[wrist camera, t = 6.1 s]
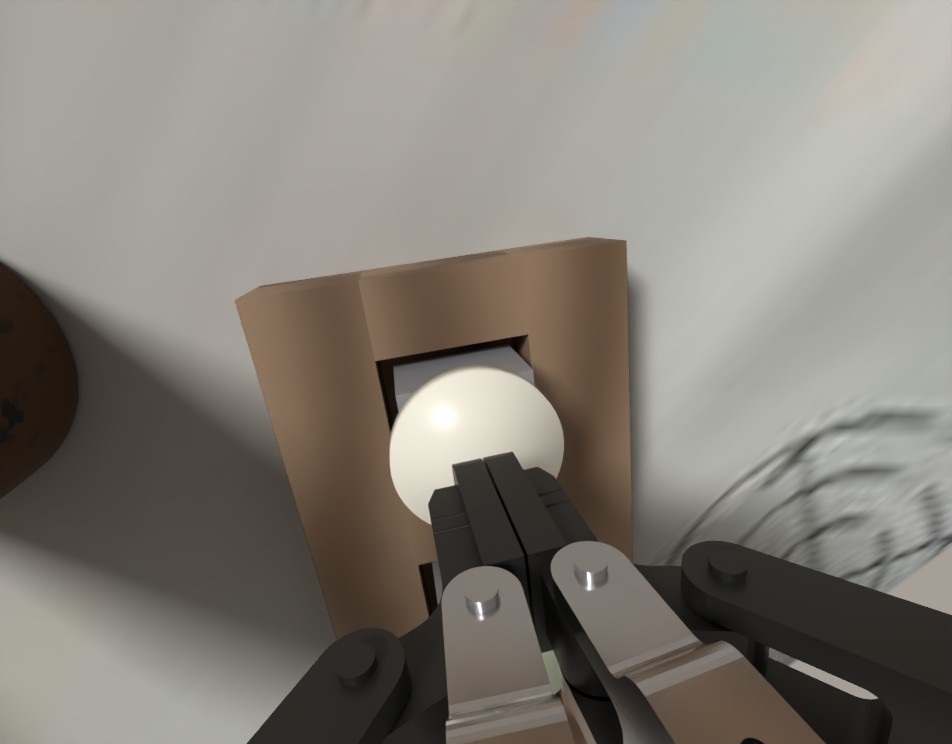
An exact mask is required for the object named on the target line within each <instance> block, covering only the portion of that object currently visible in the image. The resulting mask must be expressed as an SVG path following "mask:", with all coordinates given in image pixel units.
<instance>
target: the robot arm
mask: <svg viewBox="0 0 952 744" xmlns="http://www.w3.org/2000/svg"><path fill="white" fill-rule="evenodd" d="M452 472H453V478H454V484H455V485H453V486H449V487H444V488H440V489H435V490H434V492H433V494H432V496H431V499H430V501H429V503H428V508H429V513H430V519H431V524H432V530H433V535H434V541H435V547H436V552H437V558H438V563H439V569H440V575H441V580H442V588H443V590H442V596H441V599H440V602H439V604H438V606H437V608H436V609H435V611H434V612H433V613H432V615H431V616H430V617H429V618H428V619H427V620H426V621H424V622H423V623H422V624H421V625H419V626H418V627H416V628H415V629H413V630H411V631H410V632H408V633H406V634H404V635H403V636H401V637H399V638H397V637H396V636H395V635H394V634H393V633H391V632H389V631H387V630H384V629H380V628H365V629H360V630H357V631H354V632H351V633H349V634H347V635H345V636H343V637H341V638H340V639H338V640H337V641H335V642H334V643H333V644H332V645H331V646H329V647H328V648H327V649H326V650H325V652H324V653H323V654H322V655H321V656H320V657H319V658H318V660H317V661H316V662H315V663H314V664H313V666H312V667H311V668H310V669H309V670H308V672H307V673H306V674H305V675H304V676H303V677H302V679H301V680H300V681H299V682H298V683H297V685H296V686H295V687H294V688H293V689H292V691H291V692H290V693H289V694H288V695H287V696H286V698H285V699H284V700H283V701H282V702H281V704H280V705H279V706H278V707H277V708H276V710H275V711H274V712H273V713H272V714H271V715H270V717H269V718H268V719H267V720H266V721H265V723H264V724H263V725H262V726H261V727H260V729H259V730H258V731H257V732H256V733H255V734H254V736H253V737H252V738H251V739H250V740H249V742H248V743H247V744H575V743H574V739H573V736H572V733H571V729H570V726H569V723H568V719H567V716H566V713H565V710H564V707H563V705H562V702H561V700H560V698H559V696H558V695H556V696H554V693H553V691H552V688H551V684H550V681H549V678H548V674H547V671H546V667H545V664H544V660H543V657H542V653H544V652H548V651H551V650H553V652H554V654H555V656H556V659H557V661H558V664H559V668H560V680H561V687H562V690H563V693H564V695H565V697H566V699H567V702H568V704H569V706H570V708H571V710H572V712H573V714H574V716H575V718H576V720H577V722H578V725H579V727H580V729H581V731H582V733H583V735H584V737H585V739H586V741H587V743H588V744H952V615H949V614H946V613H943V612H940V611H937V610H934V609H931V608H928V607H925V606H922V605H918V604H916V603H913V602H910V601H907V600H904V599H901V598H897V597H894V596H891V595H888V594H886V593H882V592H879V591H876V590H873V589H870V588H867V587H864V586H861V585H858V584H855V583H852V582H849V581H846V580H843V579H840V578H837V577H834V576H831V575H828V574H825V573H822V572H819V571H816V570H813V569H810V568H807V567H803V566H800V565H797V564H794V563H791V562H788V561H785V560H782V559H779V558H776V557H773V556H770V555H767V554H764V553H761V552H758V551H755V550H752V549H749V548H746V547H743V546H740V545H736V544H733V543H728V542H723V541H706V542H701V543H698V544H695V545H693V546H691V547H690V548H688V549H687V550H686V551H685V553H684V554H683V557H682V566H643V565H637V564H632V563H631V562H630V561H629V559H628V558H627V557H626V556H625V555H624V554H623V553H622V552H620V551H619V550H618V549H616V548H614V547H612V546H610V545H607V544H605V543H601V542H599V541H598V540H597V538H596V537H595V535H594V534H593V532H592V531H591V529H590V528H589V526H588V525H587V524H586V522H585V521H584V519H583V518H582V516H581V515H580V513H579V512H578V510H577V509H576V508H575V506H574V505H573V503H571V502H570V499H569V497H568V496H567V494H566V493H565V492H563V489H562V487H561V486H560V484H559V483H558V481H557V480H556V478H555V477H554V476H553V475H551V474H550V473H548V472H546V471H545V470H543V469H541V468H539V467H534V468H530V469H525V470H523V468H522V466H521V465H520V463H519V461H518V459H517V458H516V456H515V454H514V453H513V452H512V451H511V452H507V453H502V454H497V455H493V456H488V457H483V460H482V459H481V458H479V459H474V460H470V461H465V462H461V463H456V464H452ZM769 647H770V648H773V649H775V650H777V651H779V652H782V653H784V654H786V655H789V656H791V657H793V658H795V659H798V660H800V661H802V662H805V663H807V664H809V665H812V666H814V667H816V668H818V669H821V670H823V671H825V672H827V673H830V674H832V675H834V676H837V677H839V678H841V679H843V680H846V681H848V682H850V683H853V684H855V685H857V686H859V687H862V688H864V689H866V690H868V691H870V692H871V693H873V694H874V695H875V696H877V697H878V699H872V700H870V699H862V698H859V697H856V696H853V695H851V694H849V693H846V692H844V691H842V690H840V689H837V688H835V687H833V686H831V685H828V684H826V683H824V682H822V681H820V680H818V679H815V678H813V677H811V676H809V675H806V674H804V673H802V672H800V671H798V670H795V669H793V668H791V667H789V666H787V665H784V664H782V663H780V662H778V661H775V660H773V659H771V658H769V657H768V656H769Z"/></svg>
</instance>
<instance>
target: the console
mask: <svg viewBox="0 0 952 744" xmlns="http://www.w3.org/2000/svg"><path fill="white" fill-rule="evenodd" d="M235 303H236V306H237V310H238V313H239V316H240V320H241V323H242V326H243V330H244V333H245V336H246V340H247V343H248V346H249V350H250V353H251V356H252V360H253V363H254V366H255V370H256V373H257V376H258V379H259V383H260V386H261V389H262V393H263V396H264V399H265V403H266V406H267V409H268V413H269V416H270V419H271V423H272V426H273V429H274V433H275V436H276V439H277V443H278V446H279V449H280V452H281V456H282V459H283V462H284V466H285V469H286V472H287V476H288V479H289V482H290V486H291V489H292V492H293V496H294V499H295V502H296V506H297V509H298V512H299V516H300V519H301V522H302V525H303V529H304V532H305V535H306V539H307V542H308V545H309V549H310V552H311V555H312V559H313V562H314V565H315V569H316V572H317V575H318V579H319V582H320V585H321V589H322V592H323V595H324V598H325V602H326V605H327V608H328V612H329V615H330V618H331V622H332V625H333V628H334V632H335V635H336V638H337V640H338V639H340V638H341V637H343V636H345V635H347V634H349V633H351V632H354V631H357V630H360V629H365V628H380V629H384V630H387V631H389V632H391V633H393V634H394V635H395V636H396V637H397V638H399V637H401V636H403V635H404V634H406V633H408V632H410V631H411V630H413V629H415V628H416V627H418V626H419V625H421V624H422V623H423V622H424V621H426V620H427V619H428V618H429V617H430V616H431V615H432V613H433V612H434V611H435V609H436V608H437V606H438V603H437V595H436V588H435V581H434V574H433V567H432V562H434V561H438V558H437V552H436V547H435V541H434V535H433V530H432V525H431V524H429V523H427V522H425V521H424V520H422V519H420V518H419V517H418V516H416V515H415V514H414V513H413V512H412V511H411V510H410V509H409V508H408V507H407V506H406V505H405V504H404V502H403V501H402V499H401V498H400V496H399V495H398V493H397V491H396V489H395V486H394V483H393V480H392V477H391V470H390V453H389V450H390V436H391V430H392V427H393V424H394V421H395V419H396V416H397V414H398V412H399V411H398V406H397V401H396V396H395V383H394V368H393V364H397V363H403V362H408V361H414V360H420V359H425V358H431V357H436V356H442V355H448V354H453V353H459V352H465V351H470V350H476V349H482V348H487V347H493V346H498V345H504V344H508V345H509V346H510V347H511V348H512V349H513V350H514V351H515V352H516V353H517V354H518V355H519V356H520V357H521V358H522V359H523V360H524V361H525V362H526V363H527V364H528V365H529V366H530V367H531V368H532V369H533V374H534V384H535V387H536V388H537V389H538V390H539V391H540V392H541V393H542V395H543V396H544V397H545V398H546V399H547V400H548V401H549V402H550V404H551V405H552V407H553V408H554V410H555V411H556V413H557V416H558V418H559V420H560V423H561V426H562V430H563V437H564V453H563V460H562V464H561V468H560V471H559V473H558V476H557V478H556V480H557V481H558V483H559V484H560V486H561V487H562V489H563V492H565V493H566V494H567V496H568V497H569V499H570V502H571V503H573V505H574V506H575V508H576V509H577V510H578V512H579V513H580V515H581V516H582V518H583V519H584V521H585V522H586V524H587V525H588V526H589V528H590V529H591V531H592V532H593V534H594V535H595V537H596V538H597V540H598V541H599V542H601V543H605V544H607V545H610V546H612V547H614V548H616V549H618V550H619V551H620V552H622V553H623V554H624V555H625V556H626V557H627V558H628V559H629V561H630V562H631V563H632V564H633V550H632V500H631V450H630V400H629V350H628V300H627V250H626V241H625V240H614V239H603V238H592V237H586V238H579V239H572V240H566V241H559V242H552V243H546V244H539V245H532V246H525V247H519V248H512V249H505V250H499V251H492V252H485V253H479V254H472V255H465V256H459V257H452V258H445V259H439V260H432V261H425V262H418V263H412V264H405V265H398V266H392V267H385V268H378V269H372V270H365V271H358V272H352V273H345V274H338V275H332V276H325V277H318V278H311V279H305V280H298V281H291V282H285V283H278V284H271V285H265V286H260V287H258V288H256V289H254V290H252V291H251V292H249V293H247V294H245V295H243V296H242V297H240V298H238V299H236V300H235ZM556 695H558V696H559V698H560V700H561V702H562V705H563V707H564V710H565V713H566V716H567V719H568V723H569V726H570V729H571V733H572V736H573V739H574V743H575V744H588V743H587V741H586V739H585V737H584V735H583V733H582V731H581V729H580V727H579V725H578V722H577V720H576V718H575V716H574V714H573V712H572V710H571V708H570V706H569V704H568V702H567V699H566V697H565V695H564V693H563V690H562V688H561V689H560V690H559V691H558V692H557V693H556V694H555V695H554V696H556Z"/></svg>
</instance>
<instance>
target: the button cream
mask: <svg viewBox="0 0 952 744" xmlns="http://www.w3.org/2000/svg"><path fill="white" fill-rule="evenodd" d="M393 368H394V383H395V396H396V401H397V406H398V411H399V412H398V414H397V416H396V419H395V421H394V424H393V427H392V430H391V436H390V450H389V453H390V470H391V477H392V480H393V483H394V486H395V489H396V491H397V493H398V495H399V496H400V498H401V499H402V501H403V502H404V504H405V505H406V506H407V507H408V508H409V509H410V510H411V511H412V512H413V513H414V514H415V515H416V516H418V517H419V518H420V519H422V520H424V521H425V522H427V523H429V524H431V519H430V513H429V508H428V503H429V501H430V499H431V496H432V494H433V492H434V490H435V489H440V488H444V487H449V486H453V485H455V484H454V478H453V472H452V464H456V463H461V462H465V461H470V460H474V459H479V458H481V459H482V460H483V457H488V456H493V455H497V454H502V453H507V452H511V451H512V452H513V453H514V454H515V456H516V458H517V459H518V461H519V463H520V465H521V466H522V468H523V470H525V469H530V468H534V467H539V468H541V469H543V470H545V471H546V472H548V473H550V474H551V475H553V476H554V477H555V478H557V476H558V473H559V471H560V468H561V464H562V460H563V453H564V437H563V430H562V426H561V423H560V420H559V418H558V416H557V413H556V411H555V410H554V408H553V407H552V405H551V404H550V402H549V401H548V400H547V399H546V398H545V397H544V396H543V395H542V393H541V392H540V391H539V390H538V389H537V388H536V387H535V384H534V374H533V369H532V368H531V367H530V366H529V365H528V364H527V363H526V362H525V361H524V360H523V359H522V358H521V357H520V356H519V355H518V354H517V353H516V352H515V351H514V350H513V349H512V348H511V347H510V346H509V345H508V344H504V345H498V346H493V347H487V348H482V349H476V350H470V351H465V352H459V353H453V354H448V355H442V356H436V357H431V358H425V359H420V360H414V361H408V362H403V363H397V364H393ZM431 525H432V524H431Z"/></svg>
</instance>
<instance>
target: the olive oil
mask: <svg viewBox="0 0 952 744" xmlns="http://www.w3.org/2000/svg"><path fill="white" fill-rule="evenodd" d="M77 394H78V388H77V376H76V370H75V366H74V362H73V358H72V355H71V352H70V350H69V347H68V345H67V342H66V340H65V338H64V336H63V334H62V332H61V330H60V329H59V327H58V325H57V324H56V322H55V321H54V319H53V318H52V316H51V315H50V313H49V312H48V311H47V309H46V308H45V307H44V305H43V304H42V303H41V302H40V301H39V300H38V298H37V297H36V296H35V295H34V294H33V293H32V292H31V291H30V290H29V289H28V288H27V287H26V286H25V285H24V284H23V283H22V282H21V281H20V280H18V279H17V278H16V277H15V276H14V275H12V274H11V273H10V272H9V271H7V270H6V269H5V268H4V267H2V266H1V265H0V499H1V498H2V497H3V496H5V495H6V494H7V493H9V492H10V491H11V490H12V489H14V488H15V487H16V486H18V485H19V484H20V483H21V482H23V481H24V480H25V479H26V478H28V477H29V476H30V475H31V474H33V473H34V472H35V471H36V470H38V469H39V468H40V467H41V466H42V465H43V464H44V463H45V462H46V461H47V460H48V459H49V458H50V457H51V456H52V455H53V454H54V453H55V452H56V450H57V449H58V448H59V446H60V445H61V444H62V442H63V441H64V439H65V437H66V435H67V433H68V431H69V429H70V427H71V425H72V422H73V419H74V415H75V411H76V405H77Z"/></svg>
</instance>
